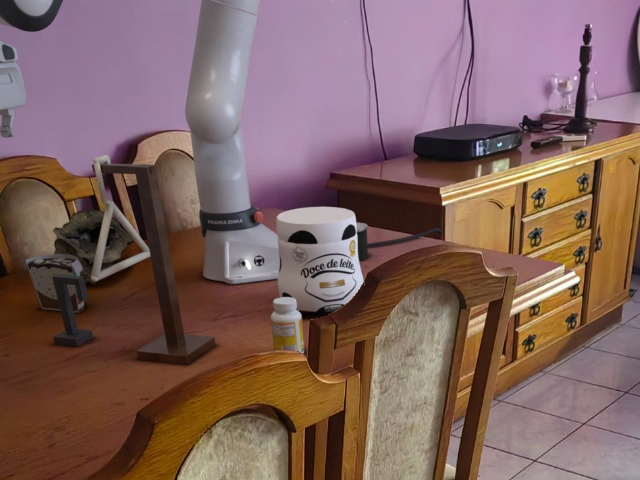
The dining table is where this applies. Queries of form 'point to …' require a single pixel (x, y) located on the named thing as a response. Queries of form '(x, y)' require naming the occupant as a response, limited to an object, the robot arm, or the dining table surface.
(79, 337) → the black hanger
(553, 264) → the dining table surface
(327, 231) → the milk container
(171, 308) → the hanger stand
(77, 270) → the food container
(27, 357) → the dining table surface
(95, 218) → the hollow geode rock
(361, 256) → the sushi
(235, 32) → the robot arm
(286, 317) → the supplement bottle
